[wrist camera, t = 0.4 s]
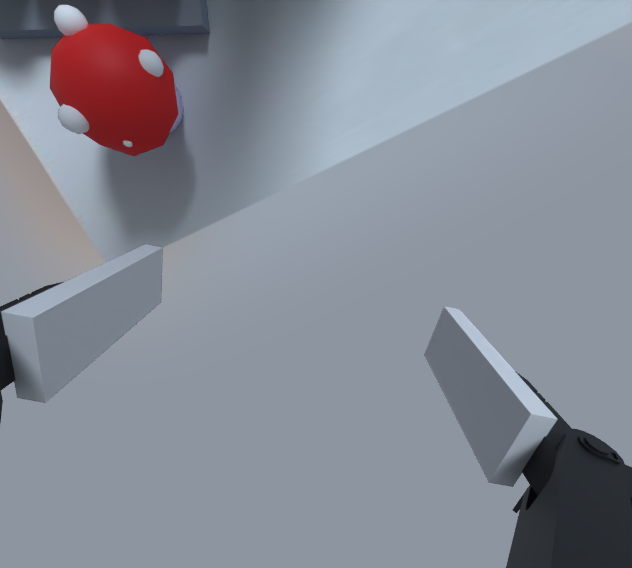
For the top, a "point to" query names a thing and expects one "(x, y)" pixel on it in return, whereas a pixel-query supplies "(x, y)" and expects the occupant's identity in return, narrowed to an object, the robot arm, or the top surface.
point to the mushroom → (112, 85)
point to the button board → (105, 16)
